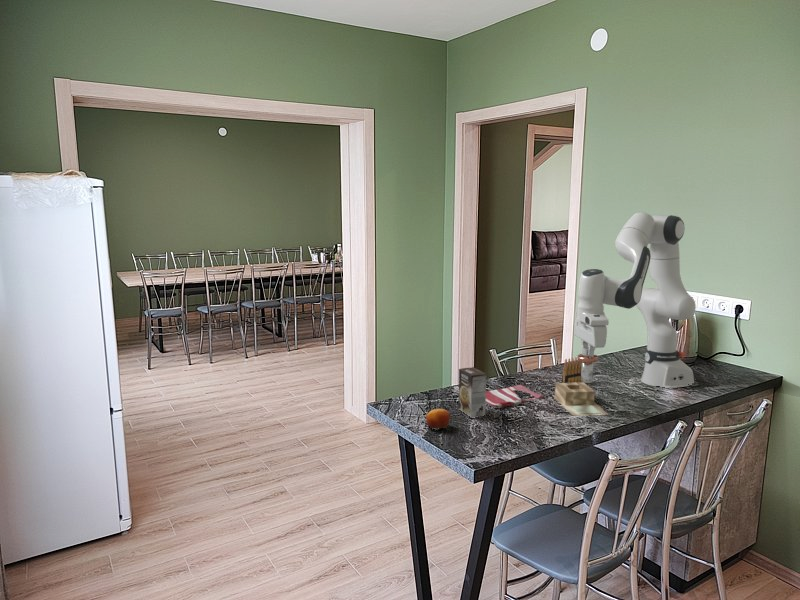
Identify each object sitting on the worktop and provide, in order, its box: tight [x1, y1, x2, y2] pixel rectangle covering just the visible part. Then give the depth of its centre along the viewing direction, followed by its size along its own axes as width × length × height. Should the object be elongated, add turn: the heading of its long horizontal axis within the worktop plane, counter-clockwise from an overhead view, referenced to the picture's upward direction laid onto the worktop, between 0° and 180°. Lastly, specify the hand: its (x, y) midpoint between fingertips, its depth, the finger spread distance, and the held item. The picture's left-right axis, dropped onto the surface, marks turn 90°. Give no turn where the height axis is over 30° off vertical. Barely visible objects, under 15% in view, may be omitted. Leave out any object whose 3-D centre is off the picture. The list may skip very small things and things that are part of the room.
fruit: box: [425, 408, 451, 429], centre depth 202 cm, size 8×8×8 cm
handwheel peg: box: [577, 346, 599, 384], centre depth 213 cm, size 7×7×12 cm
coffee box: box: [458, 367, 487, 417], centre depth 214 cm, size 9×6×16 cm
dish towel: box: [486, 384, 545, 409], centre depth 231 cm, size 17×23×3 cm
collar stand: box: [552, 382, 609, 417], centre depth 221 cm, size 13×22×6 cm, turn 5°
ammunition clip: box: [561, 356, 582, 383], centre depth 246 cm, size 11×2×12 cm, turn 117°
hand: (588, 353), depth 212 cm, fingers closed on handwheel peg, 3 cm apart
